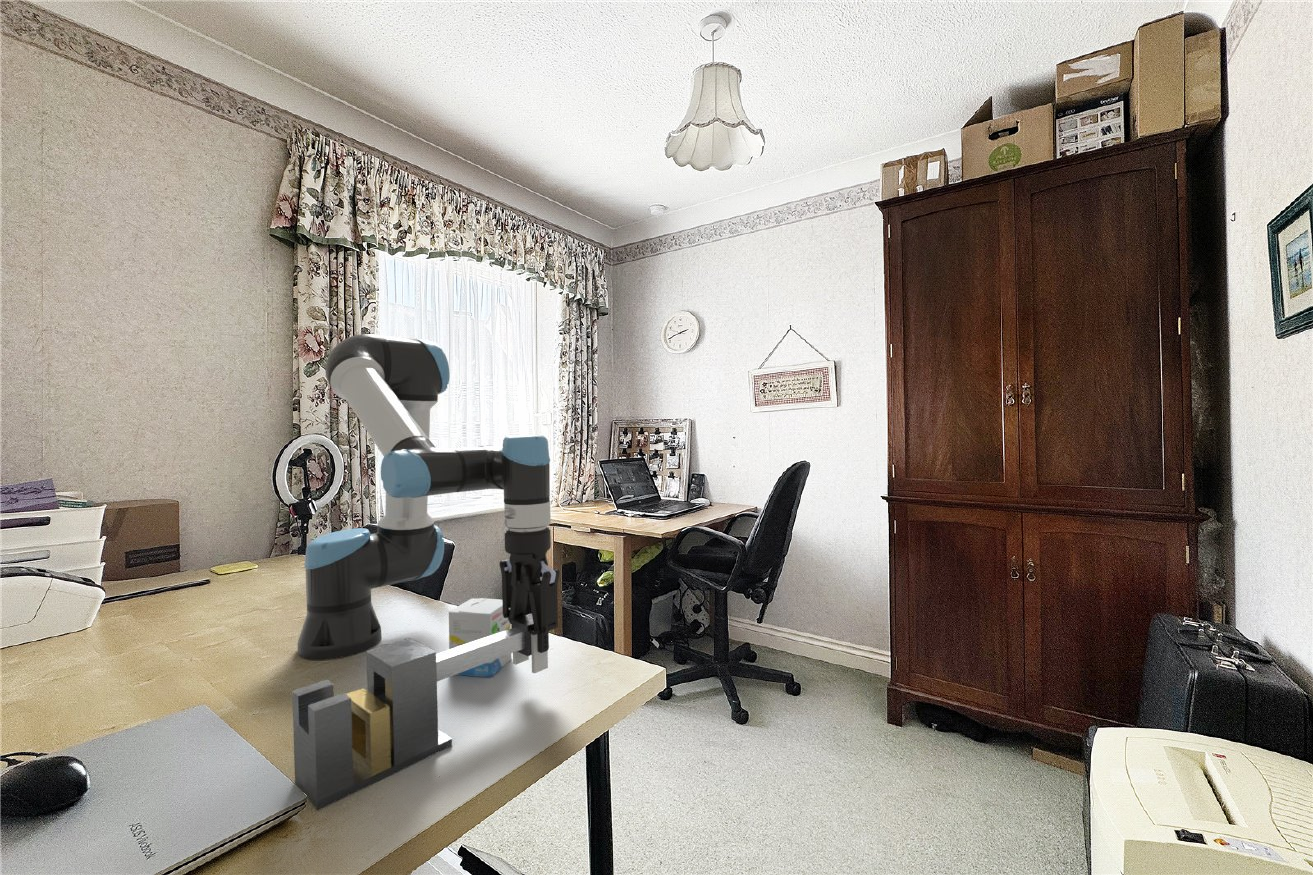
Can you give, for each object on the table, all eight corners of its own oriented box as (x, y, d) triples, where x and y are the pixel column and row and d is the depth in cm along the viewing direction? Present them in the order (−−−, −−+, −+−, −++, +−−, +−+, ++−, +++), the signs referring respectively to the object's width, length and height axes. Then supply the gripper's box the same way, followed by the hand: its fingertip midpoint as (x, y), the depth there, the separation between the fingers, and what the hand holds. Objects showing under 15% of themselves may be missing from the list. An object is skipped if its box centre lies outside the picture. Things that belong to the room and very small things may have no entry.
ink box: (491, 678, 99) (489, 613, 99) (448, 674, 101) (446, 611, 100) (512, 658, 107) (511, 598, 107) (472, 655, 109) (471, 596, 109)
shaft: (387, 695, 77) (386, 660, 77) (531, 642, 96) (530, 613, 96) (401, 706, 74) (400, 669, 74) (547, 648, 93) (547, 619, 93)
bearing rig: (295, 782, 70) (291, 673, 70) (424, 726, 83) (422, 633, 83) (317, 810, 65) (314, 692, 65) (452, 745, 78) (449, 647, 78)
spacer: (346, 753, 75) (344, 694, 75) (364, 745, 77) (362, 688, 76) (371, 776, 70) (370, 713, 69) (390, 767, 72) (389, 706, 71)
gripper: (478, 525, 95) (481, 659, 96) (542, 537, 84) (545, 689, 84) (515, 519, 101) (518, 645, 101) (579, 530, 89) (582, 672, 90)
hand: (530, 665), depth 93 cm, fingers closed on shaft, 4 cm apart
